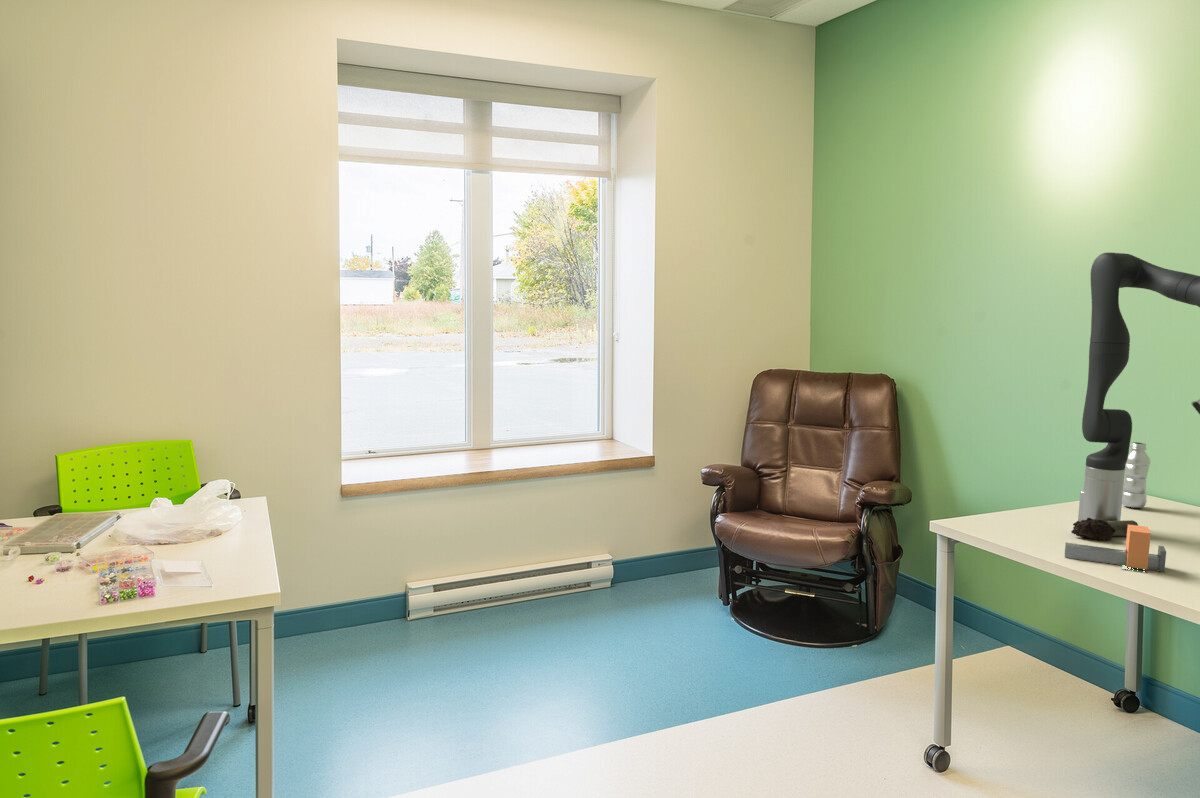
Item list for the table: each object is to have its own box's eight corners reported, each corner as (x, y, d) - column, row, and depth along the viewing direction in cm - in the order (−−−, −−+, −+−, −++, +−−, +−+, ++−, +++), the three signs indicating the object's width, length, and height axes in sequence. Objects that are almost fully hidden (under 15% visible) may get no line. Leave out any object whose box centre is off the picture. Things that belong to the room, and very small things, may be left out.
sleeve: (1126, 566, 190) (1130, 530, 189) (1124, 559, 196) (1127, 524, 195) (1147, 569, 188) (1150, 533, 187) (1144, 561, 194) (1147, 526, 193)
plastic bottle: (1124, 503, 253) (1129, 440, 251) (1149, 508, 248) (1155, 443, 246) (1116, 506, 249) (1122, 442, 247) (1141, 511, 244) (1148, 445, 242)
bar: (1064, 561, 195) (1066, 541, 194) (1064, 550, 203) (1065, 531, 203) (1165, 575, 185) (1167, 554, 185) (1160, 563, 194) (1162, 543, 193)
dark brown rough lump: (1123, 533, 221) (1125, 513, 220) (1144, 541, 214) (1147, 520, 213) (1067, 536, 217) (1069, 515, 216) (1087, 543, 211) (1089, 522, 210)
